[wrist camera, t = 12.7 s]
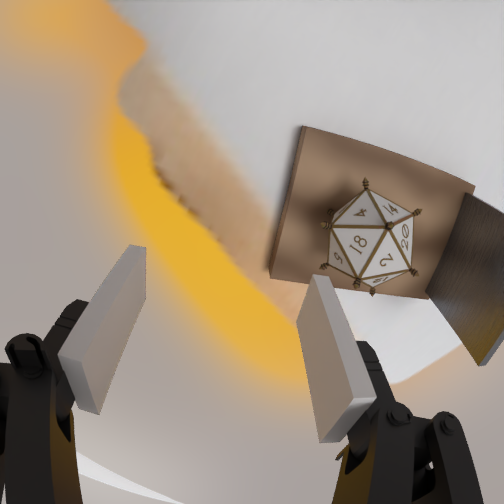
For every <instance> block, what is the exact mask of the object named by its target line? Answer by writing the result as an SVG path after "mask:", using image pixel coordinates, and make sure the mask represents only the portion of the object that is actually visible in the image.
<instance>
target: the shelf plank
mask: <svg viewBox="0 0 504 504" xmlns="http://www.w3.org/2000/svg"><path fill="white" fill-rule="evenodd" d="M365 177H366V179H367V180H368V181H369V182H368V184H369V186H368V189H370V190H372V191H374V192H376V193H378V194H380V195H381V196H383V197H385V198H387V199H389V200H391V201H392V202H394V203H396V204H398V205H400V206H401V207H403V208H405V209H407V210H408V211H410V212H414V210H416V209H417V208H418V209H422V212H421V215H420V214H419V215H418V216H415V217H414V240H413V257H412V268H413V269H414V268H415V270H418V274H419V276H414V277H413V275H411V273H410V272H407V273H404V274H402V275H400V276H398V277H396V278H394V279H391V280H389V281H387V282H385V283H382V284H380V285H378V286H376V287H374V288H375V289H376V290H375V292H376V293H378V294H386V295H394V296H402V297H411V298H419V299H427V300H429V298H430V297H429V296H428V295H427V294H426V292H425V290H426V288H427V286H428V284H429V282H430V280H431V278H432V276H433V273H434V271H435V269H436V267H437V265H438V262H439V260H440V258H441V256H442V253H443V251H444V249H445V246H446V244H447V241H448V239H449V236H450V234H451V231H452V229H453V226H454V224H455V221H456V218H457V216H458V213H459V210H460V207H461V204H462V201H463V198H464V195H465V192H467V193H470V194H472V195H473V192H474V189H475V186H474V185H472V184H470V183H468V182H466V181H464V180H462V179H460V178H457V177H455V176H453V175H451V174H448V173H446V172H444V171H441V170H439V169H436V168H434V167H432V166H429V165H427V164H424V163H421V162H419V161H416V160H414V159H411V158H408V157H406V156H403V155H400V154H397V153H394V152H392V151H389V150H386V149H383V148H380V147H377V146H374V145H371V144H367V143H364V142H361V141H358V140H354V139H351V138H348V137H344V136H341V135H337V134H334V133H330V132H326V131H322V130H318V129H315V128H311V127H306V126H302V130H301V135H300V139H299V143H298V148H297V152H296V157H295V161H294V165H293V169H292V174H291V178H290V182H289V187H288V191H287V195H286V199H285V203H284V208H283V212H282V216H281V220H280V224H279V228H278V232H277V236H276V240H275V245H274V249H273V253H272V257H271V261H270V265H269V274H270V279H277V280H284V281H291V282H298V283H305V284H310V281H311V278H312V275H313V274H316V275H322V276H329V278H330V281H331V283H332V285H333V287H334V288H340V289H348V290H355V291H363V292H370V287H369V286H367V285H365V284H363V283H360V287H359V288H357V289H354V286H353V285H352V284H353V283H354V281H355V279H353V278H351V277H349V276H347V275H345V274H343V273H341V272H340V271H338V270H336V269H334V268H332V267H330V266H328V267H327V269H325V270H321V269H319V268H320V266H321V264H323V263H327V255H328V237H329V229H325V228H324V229H323V227H322V226H321V224H320V223H322V222H324V221H326V222H328V223H330V222H331V219H332V216H330V215H329V214H327V209H332V210H334V213H335V212H336V211H337V210H339V209H340V208H341V207H342V206H344V205H345V204H346V203H347V202H349V201H350V200H351V199H352V198H354V197H355V196H356V195H357V194H359V193H360V192H361V191H362V190H363V189H364V186H362V185H363V183H362V182H363V180H364V178H365Z"/></svg>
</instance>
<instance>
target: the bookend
mask: <svg viewBox="0 0 504 504" xmlns="http://www.w3.org/2000/svg"><path fill="white" fill-rule="evenodd" d="M425 292H426V294H427V295H428V296H429V297H430V299H431V300H432V301H433V303H434V304H435V305H436V307H437V308H438V309H439V311H440V312H441V313H442V315H443V316H444V317H445V319H446V320H447V321H448V323H449V324H450V326H451V327H452V328H453V330H454V331H455V333H456V334H457V335H458V337H459V338H460V340H461V341H462V343H463V344H464V345H465V347H466V348H467V350H468V351H469V353H470V354H471V356H472V357H473V359H474V360H475V362H476V363H477V365H478V366H484V365H486V364H487V363H488V361H489V360H490V359H491V357H492V356H493V354H494V353H495V352H496V350H497V349H498V347H499V346H500V344H501V343H502V341H503V340H504V213H503V212H501V211H500V210H498V209H496V208H495V207H493V206H491V205H490V204H488V203H486V202H484V201H483V200H481V199H479V198H477V197H476V196H474V195H472V194H470V193H467V192H465V195H464V198H463V201H462V204H461V207H460V210H459V213H458V216H457V218H456V221H455V224H454V226H453V229H452V231H451V234H450V236H449V239H448V241H447V244H446V246H445V249H444V251H443V253H442V256H441V258H440V260H439V262H438V265H437V267H436V269H435V271H434V273H433V276H432V278H431V280H430V282H429V284H428V286H427V288H426V290H425Z"/></svg>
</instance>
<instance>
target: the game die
mask: <svg viewBox="0 0 504 504" xmlns="http://www.w3.org/2000/svg"><path fill="white" fill-rule="evenodd" d="M368 182H369V181H368V180H367V179H366V177H365V178H364V180H363V182H362V183H363V185H362V186H364V189H363V190H362V191H361V192H360V193H359V194H357V195H356V196H355V197H354V198H352V199H351V200H350V201H349V202H347V203H346V204H345V205H344V206H342V207H341V208H340V209H339V210H337V211H336V212H335V213H334V210H332V209H327V214H329V215H330V216H332V219H331V222H330V223H328V222H326V221H324V222H322V223H320V224H321V226H322V227H323V229H324V228H325V229H329V237H328V255H327V263H323V264H321V266H320V268H319V269H321V270H325V269H327V267H328V266H330V267H332V268H334V269H336V270H338V271H340V272H341V273H343V274H345V275H347V276H349V277H351V278H353V279H355V281H354V283H353V284H352V285H353V286H354V289H357V288H359V287H360V283H363V284H365V285H367V286H369V287H370V294H371V296H372V297H373V295H374V294H375V293H376V292H375V290H376V289H375V288H374V287H376V286H378V285H380V284H382V283H385V282H387V281H389V280H391V279H394V278H396V277H398V276H400V275H402V274H404V273H407V272H410V273H411V275H413V277H414V276H419V274H418V270H415V268H414V269H413V268H412V257H413V240H414V217H415V216H418V215H419V214H420V215H421V212H422V209H418V208H417V209H416V210H414V212H410V211H408V210H407V209H405V208H403V207H401V206H400V205H398V204H396V203H394V202H392V201H391V200H389V199H387V198H385V197H383V196H381V195H380V194H378V193H376V192H374V191H372V190H370V189H368V186H369V184H368Z"/></svg>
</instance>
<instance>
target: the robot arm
mask: <svg viewBox="0 0 504 504" xmlns="http://www.w3.org/2000/svg"><path fill="white" fill-rule="evenodd" d="M145 281H146V247H140V246H134V245H129V247H128V248H127V249H126V251H125V252H124V253H123V254H122V256H121V257H120V259H119V260H118V261H117V263H116V264H115V266H114V267H113V269H112V270H111V271H110V273H109V274H108V276H107V277H106V279H105V280H104V281H103V283H102V285H101V286H100V287H99V289H98V290H97V292H96V293H95V295H94V296H93V298H92V299H91V301H90V302H86V301H82V300H78V299H77V300H75V301H74V302H72V303H71V304H69V305H68V306H67V307H66V308H65V309H64V311H63V312H62V313H61V315H60V318H58V319H57V321H56V322H55V325H53V326H52V328H51V330H50V331H49V333H48V334H47V336H46V337H45V339H44V340H43V341H42V340H41V338H39V337H38V336H36V335H34V334H29V333H26V334H19V335H17V336H15V337H13V338H12V339H11V340H10V341H9V342H8V343H7V345H6V347H5V351H6V354H7V356H8V358H9V360H10V362H11V364H10V363H0V504H1V501H2V495H3V490H4V484H5V491H6V492H5V493H6V504H83V502H82V495H81V490H80V483H79V476H78V468H77V459H76V448H75V436H74V417H73V413H72V410H71V408H72V406H73V403H74V401H76V403H77V406H78V408H79V409H81V410H84V411H87V412H91V413H94V414H97V415H100V412H101V409H102V406H103V403H104V400H105V398H106V395H107V392H108V389H109V387H110V384H111V381H112V379H113V376H114V374H115V371H116V368H117V366H118V363H119V361H120V358H121V356H122V353H123V351H124V348H125V346H126V344H127V341H128V339H129V336H130V334H131V332H132V329H133V327H134V324H135V322H136V320H137V318H138V315H139V313H140V311H141V308H142V306H143V303H144V302H145V299H146V291H145V290H146V282H145ZM296 323H297V328H298V333H299V338H300V342H301V347H302V352H303V357H304V362H305V368H306V373H307V378H308V383H309V388H310V394H311V399H312V404H313V410H314V415H315V420H316V426H317V432H318V437H319V443H333V442H340V441H341V440H342V439H343V438H344V437H345V436H346V434H347V436H348V440H349V444H348V445H347V446H346V447H345V448H344V449H343V450H342V451H341V452H340V453H339V454H338V455H337V457H336V459H335V460H339V459H340V458H341V457H342V456H343V458H342V463H341V468H340V472H339V477H338V481H337V485H336V489H335V493H334V497H333V501H332V504H484V503H483V498H482V494H481V490H480V486H479V482H478V478H477V474H476V471H475V467H474V464H473V460H472V457H471V453H470V450H469V447H468V444H467V441H466V438H465V435H464V432H463V429H462V426H461V424H460V422H459V420H458V419H457V418H456V417H455V416H454V415H453V414H451V413H449V412H444V411H442V412H439V413H437V415H435V416H434V417H433V418H432V419H426V418H420V417H415V416H413V414H412V413H411V411H410V410H409V409H408V408H407V407H406V406H405V405H404V404H401V403H399V402H396V401H395V398H394V396H393V393H392V391H391V388H390V386H389V383H388V381H387V379H386V376H385V374H384V371H382V370H383V369H382V367H381V364H380V363H379V360H378V357H377V355H376V353H375V351H374V349H373V348H372V347H371V346H370V345H369V344H368V343H367V342H366V341H355V338H354V336H353V333H352V331H351V328H350V326H349V323H348V321H347V318H346V316H345V314H344V311H343V309H342V306H341V304H340V302H339V299H338V297H337V294H336V292H335V290H334V287H333V285H332V283H331V281H330V278H329V276H322V275H316V274H313V275H312V278H311V281H310V284H309V287H308V290H307V293H306V296H305V298H304V301H303V304H302V307H301V310H300V313H299V316H298V318H297V321H296ZM430 462H432V463H433V469H431V468H430V466H429V463H430Z"/></svg>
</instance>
